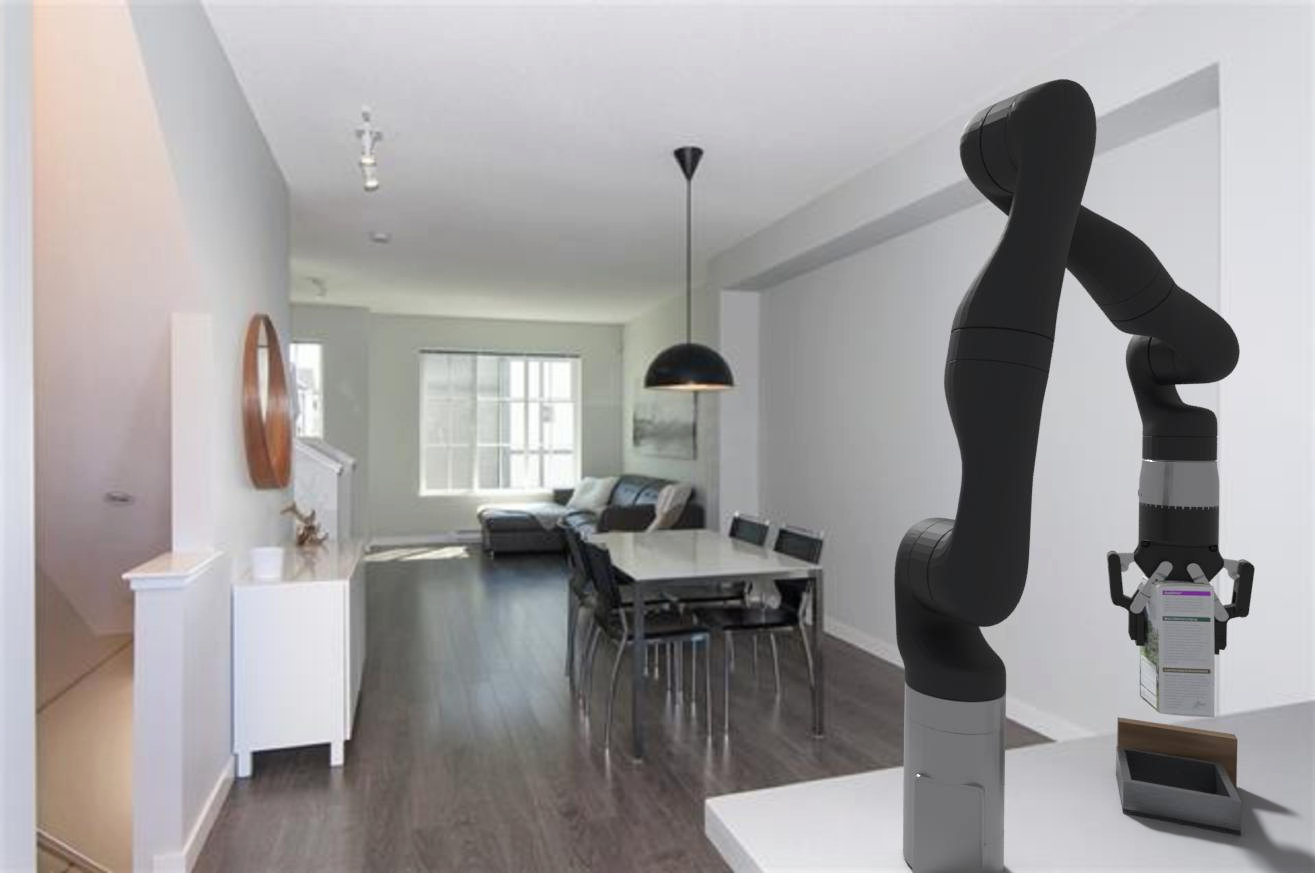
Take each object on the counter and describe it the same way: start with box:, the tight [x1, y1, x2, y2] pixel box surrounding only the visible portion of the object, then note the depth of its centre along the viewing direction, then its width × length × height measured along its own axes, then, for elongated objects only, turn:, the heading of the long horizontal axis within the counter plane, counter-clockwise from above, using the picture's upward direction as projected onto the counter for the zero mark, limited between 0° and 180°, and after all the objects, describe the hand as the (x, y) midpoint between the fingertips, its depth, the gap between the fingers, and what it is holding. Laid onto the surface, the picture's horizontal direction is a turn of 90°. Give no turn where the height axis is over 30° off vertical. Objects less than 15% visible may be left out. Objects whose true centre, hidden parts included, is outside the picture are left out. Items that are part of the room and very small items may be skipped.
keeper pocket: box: [1115, 745, 1242, 836], centre depth 90 cm, size 11×11×4 cm
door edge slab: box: [1116, 716, 1238, 791], centre depth 96 cm, size 2×12×6 cm, turn 64°
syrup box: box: [1139, 574, 1216, 718], centre depth 89 cm, size 6×6×14 cm
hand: (1176, 648), depth 89 cm, fingers closed on syrup box, 6 cm apart
